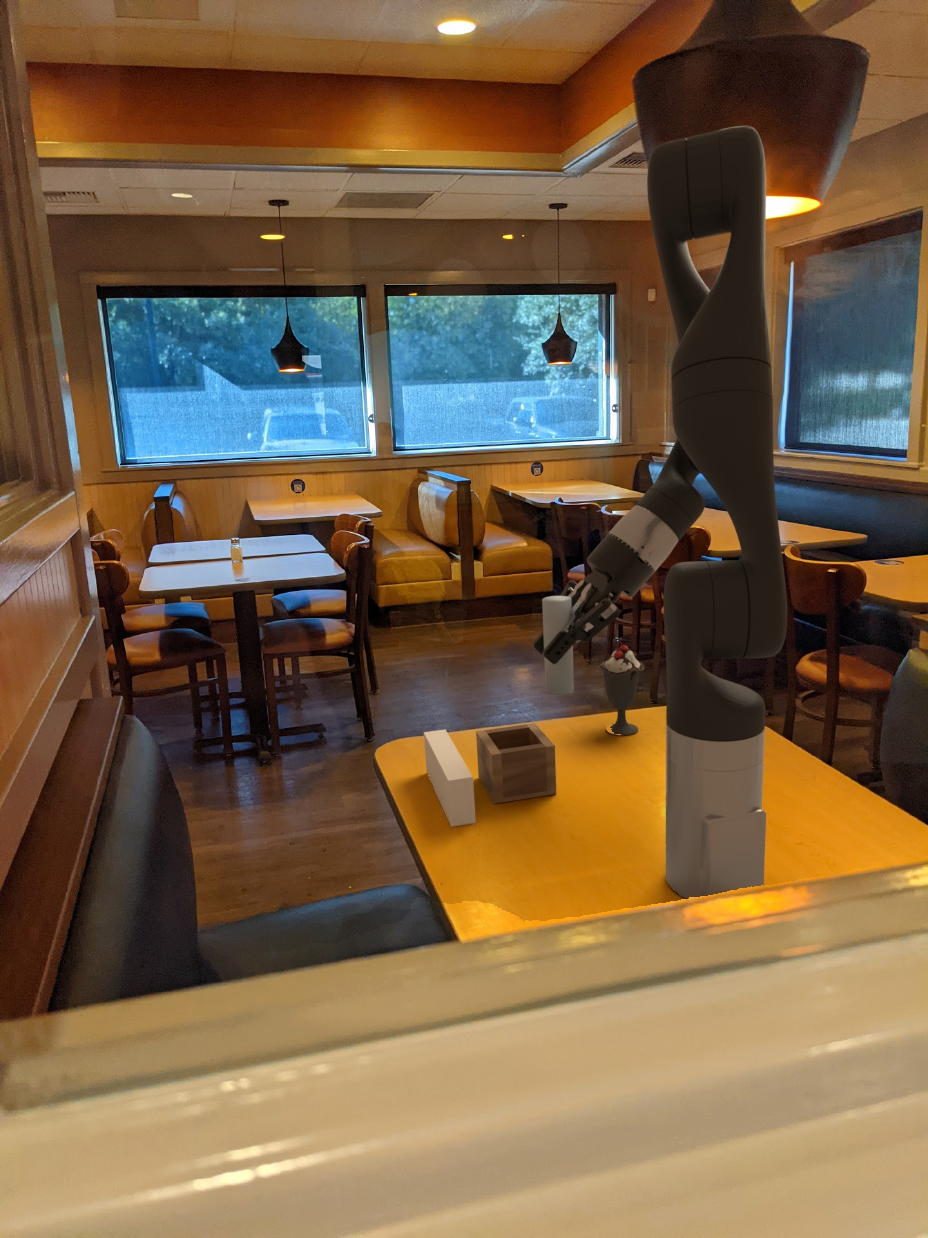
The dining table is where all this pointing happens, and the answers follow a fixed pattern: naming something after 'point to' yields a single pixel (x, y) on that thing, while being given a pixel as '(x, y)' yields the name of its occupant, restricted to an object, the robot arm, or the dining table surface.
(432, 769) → the rail
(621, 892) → the dining table surface
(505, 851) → the dining table surface
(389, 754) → the dining table surface
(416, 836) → the dining table surface
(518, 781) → the open wooden box
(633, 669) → the sundae
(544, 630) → the gray cylinder
